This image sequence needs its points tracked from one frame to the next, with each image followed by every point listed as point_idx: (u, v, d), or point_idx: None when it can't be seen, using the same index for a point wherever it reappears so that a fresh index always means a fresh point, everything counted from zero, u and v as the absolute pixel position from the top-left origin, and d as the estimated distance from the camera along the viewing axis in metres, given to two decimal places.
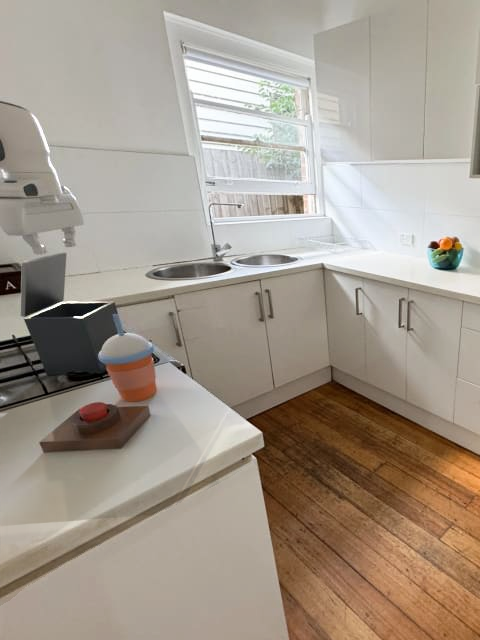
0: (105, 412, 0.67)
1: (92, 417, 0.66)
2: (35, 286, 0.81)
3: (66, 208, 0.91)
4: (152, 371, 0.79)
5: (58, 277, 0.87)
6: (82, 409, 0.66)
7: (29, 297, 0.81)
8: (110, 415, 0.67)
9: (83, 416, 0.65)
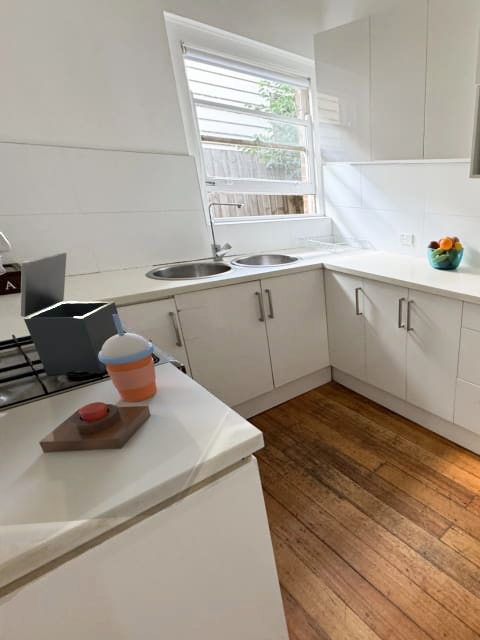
0: (105, 412, 0.67)
1: (92, 417, 0.66)
2: (35, 286, 0.81)
3: None
4: (152, 371, 0.79)
5: (58, 277, 0.87)
6: (82, 409, 0.66)
7: (29, 297, 0.81)
8: (110, 415, 0.67)
9: (83, 416, 0.65)
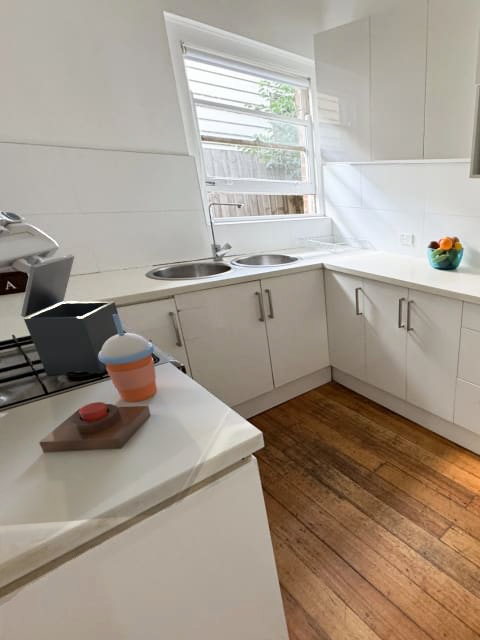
0: (105, 412, 0.67)
1: (92, 417, 0.66)
2: (40, 288, 0.82)
3: None
4: (152, 371, 0.79)
5: (62, 279, 0.88)
6: (82, 409, 0.66)
7: (32, 298, 0.81)
8: (110, 415, 0.67)
9: (83, 416, 0.65)
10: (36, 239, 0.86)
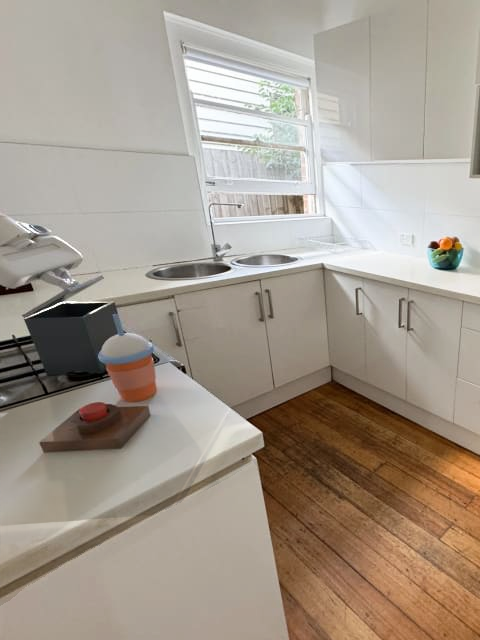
0: (105, 412, 0.67)
1: (92, 417, 0.66)
2: (57, 300, 0.83)
3: None
4: (152, 371, 0.79)
5: (79, 291, 0.89)
6: (82, 409, 0.66)
7: (44, 307, 0.82)
8: (110, 415, 0.67)
9: (83, 416, 0.65)
10: (62, 251, 0.88)
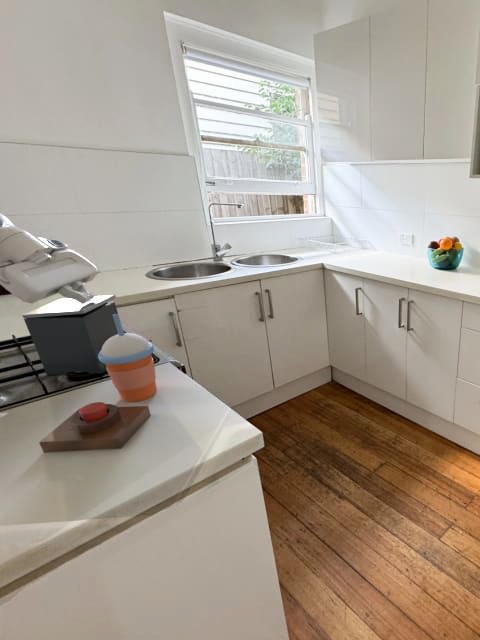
0: (105, 412, 0.67)
1: (92, 417, 0.66)
2: None
3: None
4: (152, 371, 0.79)
5: None
6: (82, 409, 0.66)
7: None
8: (110, 415, 0.67)
9: (83, 416, 0.65)
10: (78, 265, 0.89)
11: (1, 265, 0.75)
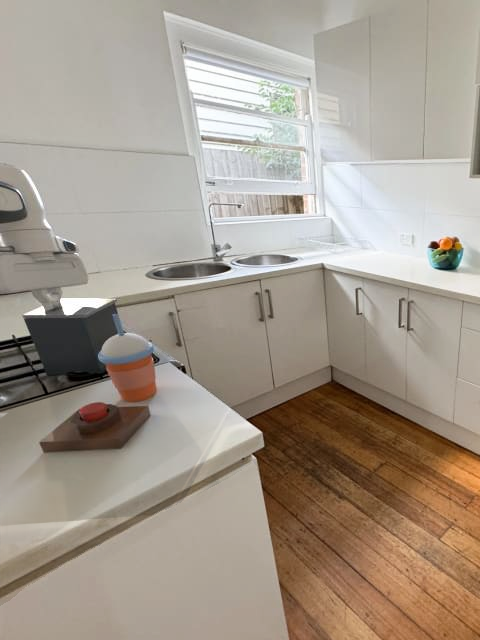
0: (105, 412, 0.67)
1: (92, 417, 0.66)
2: None
3: None
4: (152, 371, 0.79)
5: None
6: (82, 409, 0.66)
7: None
8: (110, 415, 0.67)
9: (83, 416, 0.65)
10: (73, 272, 0.89)
11: (0, 249, 0.75)
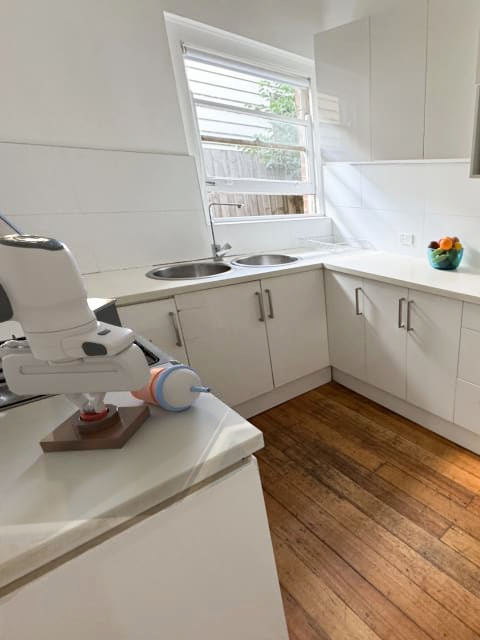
0: None
1: None
2: None
3: None
4: None
5: None
6: None
7: None
8: (110, 415, 0.67)
9: (84, 420, 0.66)
10: (113, 377, 0.63)
11: (17, 345, 0.60)
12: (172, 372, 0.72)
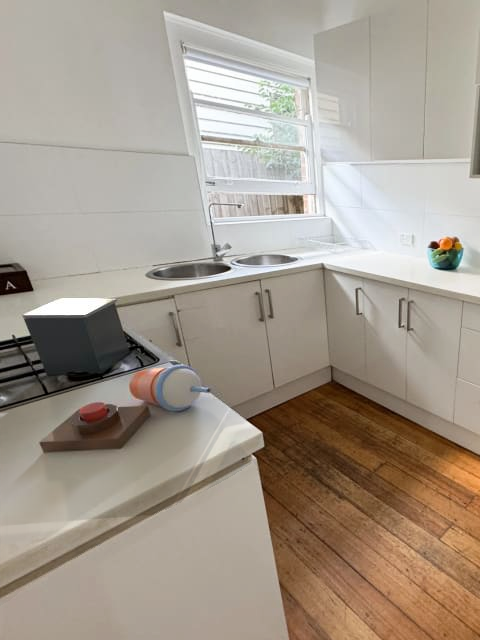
0: (105, 412, 0.67)
1: (92, 417, 0.66)
2: None
3: None
4: None
5: None
6: (82, 409, 0.66)
7: None
8: (110, 415, 0.67)
9: (83, 416, 0.65)
10: None
11: None
12: (172, 372, 0.72)
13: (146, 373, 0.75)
